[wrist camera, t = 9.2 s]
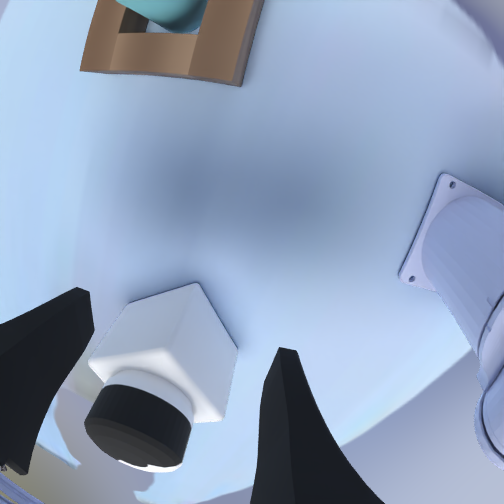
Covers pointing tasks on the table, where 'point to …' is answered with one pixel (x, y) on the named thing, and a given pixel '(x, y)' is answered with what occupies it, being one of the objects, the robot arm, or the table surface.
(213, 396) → the medicine bottle
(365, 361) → the table surface
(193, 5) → the peg
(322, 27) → the table surface
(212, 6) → the socket block
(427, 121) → the table surface
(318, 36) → the table surface
